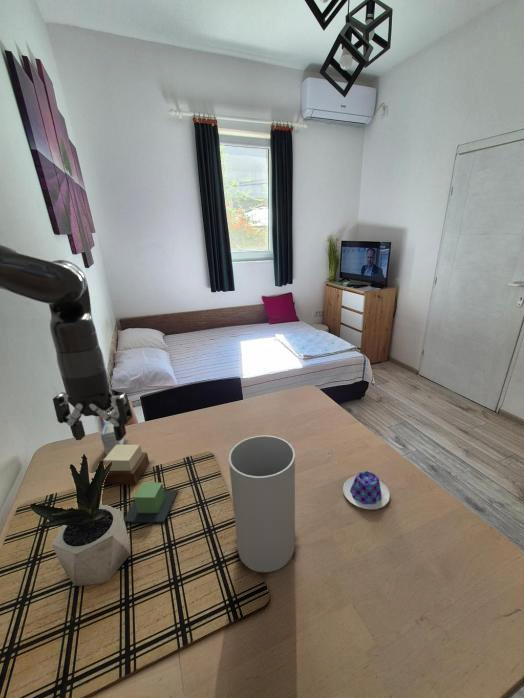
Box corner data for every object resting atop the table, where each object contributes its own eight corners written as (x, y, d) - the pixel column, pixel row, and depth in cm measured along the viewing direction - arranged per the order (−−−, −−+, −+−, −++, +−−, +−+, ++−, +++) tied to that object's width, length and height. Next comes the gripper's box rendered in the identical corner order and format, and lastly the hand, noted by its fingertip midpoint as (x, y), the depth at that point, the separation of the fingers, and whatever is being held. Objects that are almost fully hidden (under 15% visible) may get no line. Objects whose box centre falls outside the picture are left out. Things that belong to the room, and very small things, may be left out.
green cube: (137, 512, 80) (133, 497, 78) (146, 497, 84) (142, 482, 82) (157, 513, 80) (154, 497, 78) (165, 497, 84) (162, 482, 82)
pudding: (333, 486, 88) (334, 471, 86) (368, 472, 93) (370, 457, 91) (362, 518, 78) (364, 502, 76) (399, 500, 83) (402, 484, 81)
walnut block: (103, 484, 89) (100, 473, 88) (119, 463, 98) (117, 452, 96) (136, 484, 89) (133, 473, 88) (149, 463, 98) (147, 452, 96)
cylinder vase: (304, 537, 73) (306, 447, 64) (275, 586, 64) (271, 487, 54) (259, 515, 79) (254, 429, 70) (226, 556, 69) (214, 462, 60)
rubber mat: (122, 522, 78) (122, 521, 77) (141, 491, 87) (140, 490, 87) (164, 523, 77) (163, 521, 77) (178, 492, 87) (177, 490, 86)
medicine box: (122, 455, 101) (116, 431, 98) (106, 458, 100) (100, 435, 96) (124, 441, 108) (118, 418, 104) (109, 444, 106) (103, 421, 103)
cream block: (105, 470, 89) (103, 460, 87) (118, 454, 95) (116, 444, 94) (131, 470, 89) (128, 460, 87) (142, 454, 95) (140, 444, 94)
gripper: (128, 362, 67) (141, 429, 73) (59, 361, 67) (78, 428, 73) (110, 377, 60) (125, 449, 66) (32, 376, 60) (55, 448, 66)
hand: (100, 438), depth 69 cm, fingers open, 8 cm apart
